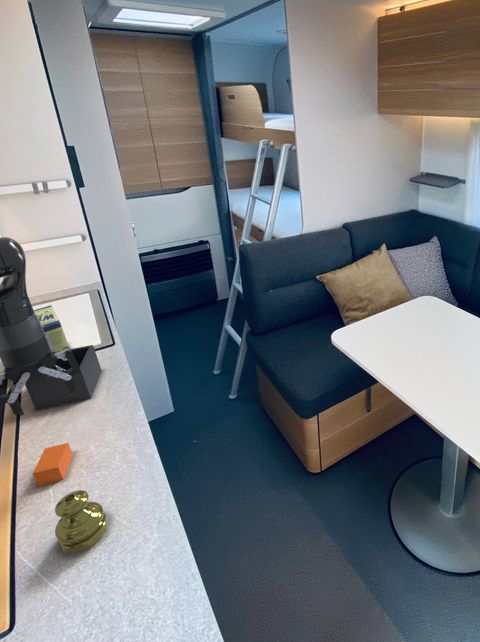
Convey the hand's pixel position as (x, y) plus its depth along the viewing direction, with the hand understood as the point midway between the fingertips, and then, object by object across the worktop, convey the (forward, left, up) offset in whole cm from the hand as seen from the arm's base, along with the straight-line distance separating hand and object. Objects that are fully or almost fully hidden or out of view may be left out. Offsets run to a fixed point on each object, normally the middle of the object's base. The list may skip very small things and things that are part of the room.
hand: (46, 402), depth 86 cm
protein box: (-17, +46, -17) cm, 52 cm away
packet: (-2, -2, -17) cm, 17 cm away
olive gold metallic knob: (+8, -21, -17) cm, 28 cm away
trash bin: (-7, +28, -17) cm, 34 cm away
